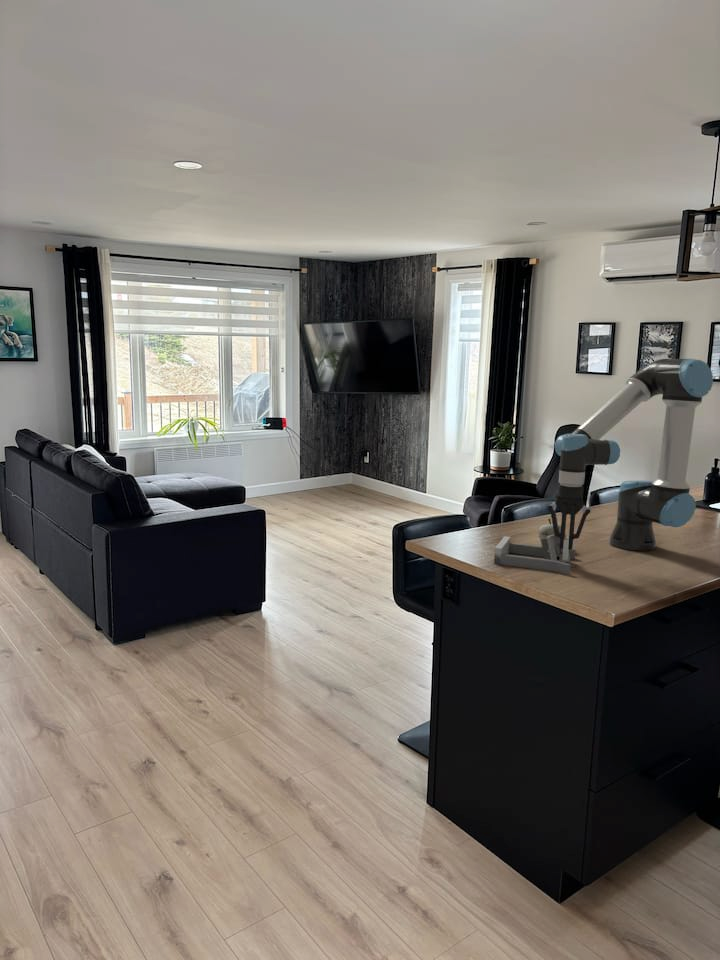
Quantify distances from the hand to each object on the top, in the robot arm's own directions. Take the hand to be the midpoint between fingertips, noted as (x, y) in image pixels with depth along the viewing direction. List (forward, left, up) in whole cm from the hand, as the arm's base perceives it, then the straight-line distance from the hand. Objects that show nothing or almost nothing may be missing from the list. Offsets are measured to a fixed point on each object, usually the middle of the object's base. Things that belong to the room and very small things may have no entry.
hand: (565, 559), depth 220 cm
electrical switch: (+3, -2, -2) cm, 4 cm away
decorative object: (+7, -20, -2) cm, 21 cm away
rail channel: (+9, 0, -2) cm, 9 cm away
